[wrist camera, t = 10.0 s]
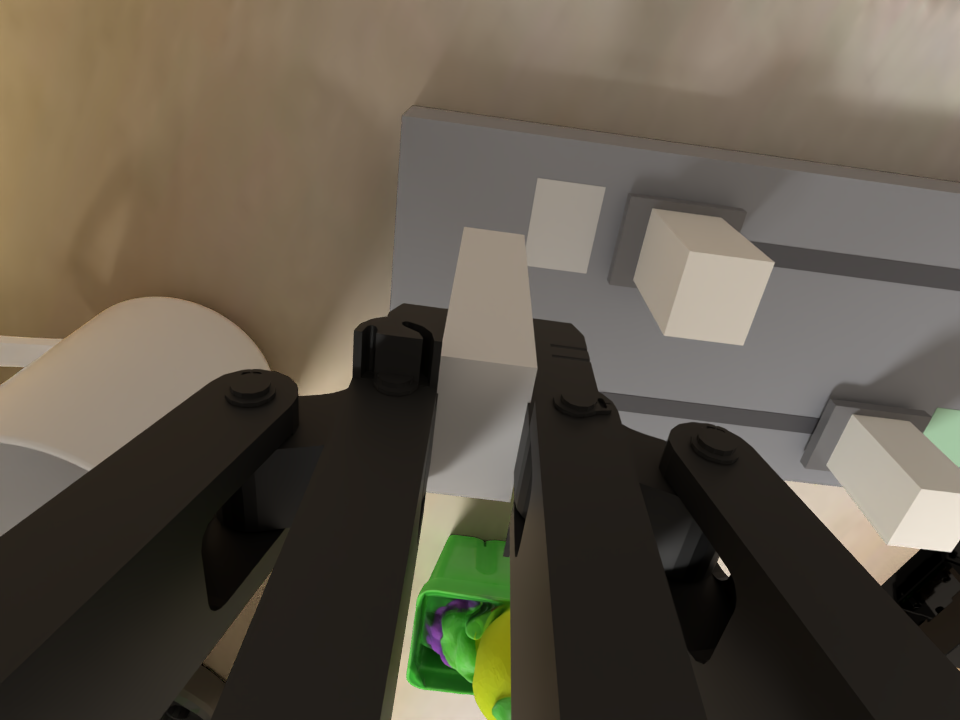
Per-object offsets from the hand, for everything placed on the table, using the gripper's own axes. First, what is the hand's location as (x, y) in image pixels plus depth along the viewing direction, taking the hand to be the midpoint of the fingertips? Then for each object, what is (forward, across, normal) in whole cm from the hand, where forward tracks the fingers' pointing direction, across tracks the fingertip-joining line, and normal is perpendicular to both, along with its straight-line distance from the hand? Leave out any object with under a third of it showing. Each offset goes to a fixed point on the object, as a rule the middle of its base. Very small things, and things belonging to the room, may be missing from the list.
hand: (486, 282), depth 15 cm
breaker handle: (+7, -17, +7) cm, 19 cm away
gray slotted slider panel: (+10, -12, +4) cm, 16 cm away
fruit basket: (+10, -5, +21) cm, 24 cm away
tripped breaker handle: (+7, -7, 0) cm, 9 cm away
